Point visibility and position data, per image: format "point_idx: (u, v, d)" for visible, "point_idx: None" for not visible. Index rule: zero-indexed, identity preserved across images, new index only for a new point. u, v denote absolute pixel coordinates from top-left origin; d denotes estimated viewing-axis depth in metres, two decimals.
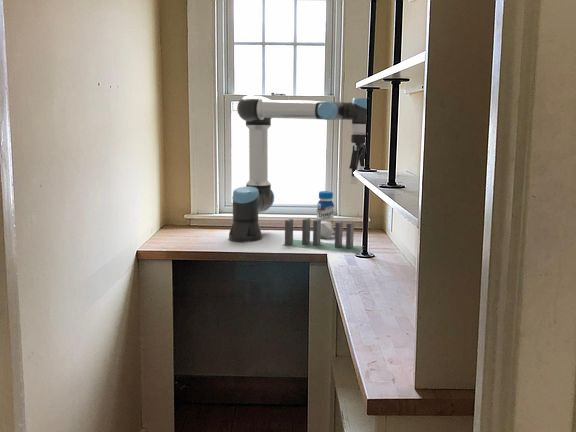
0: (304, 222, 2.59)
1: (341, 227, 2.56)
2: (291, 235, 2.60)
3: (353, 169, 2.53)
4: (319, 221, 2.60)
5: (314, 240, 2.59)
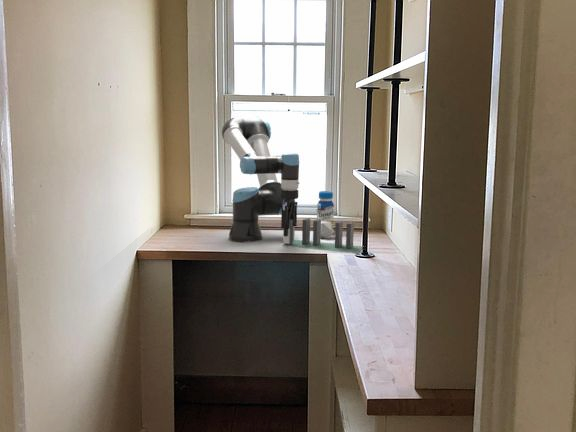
0: (304, 222, 2.59)
1: (341, 227, 2.56)
2: (291, 235, 2.60)
3: (285, 229, 2.55)
4: (319, 221, 2.60)
5: (314, 240, 2.59)
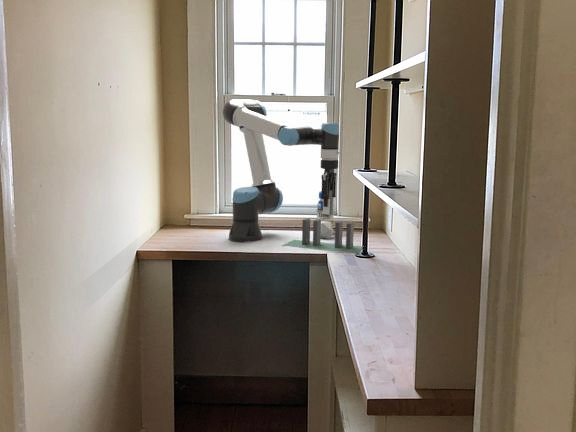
0: (304, 222, 2.59)
1: (341, 227, 2.56)
2: (330, 206, 2.57)
3: (325, 199, 2.52)
4: (319, 221, 2.60)
5: (314, 240, 2.59)
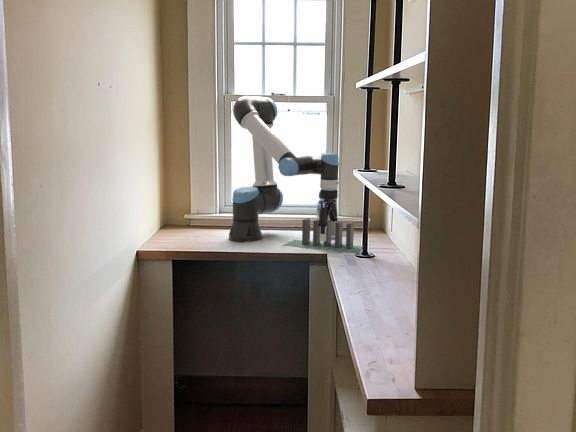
0: (304, 222, 2.59)
1: (341, 227, 2.56)
2: (330, 236, 2.59)
3: (322, 227, 2.51)
4: None
5: (314, 240, 2.59)
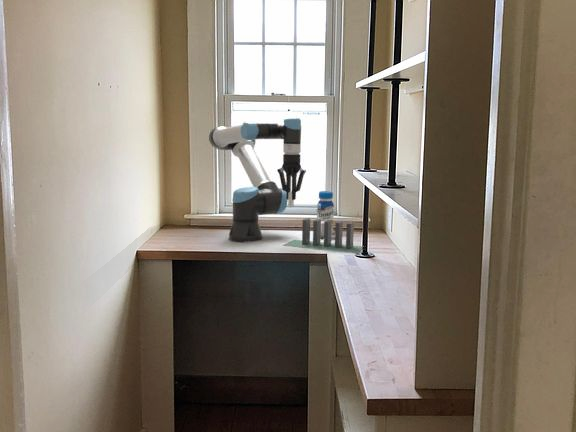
0: (304, 222, 2.59)
1: (341, 227, 2.56)
2: (330, 236, 2.59)
3: None
4: (319, 221, 2.60)
5: (314, 240, 2.59)
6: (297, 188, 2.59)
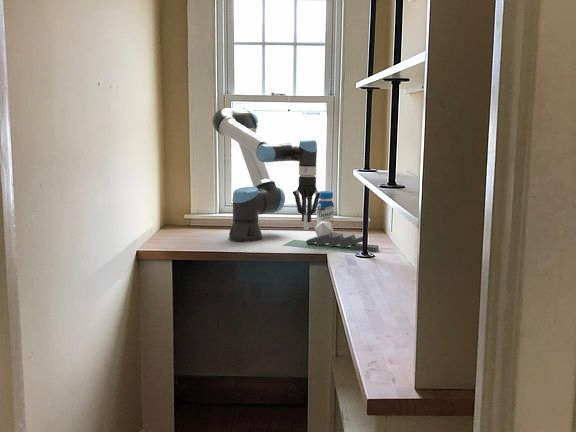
0: (326, 236, 2.56)
1: None
2: None
3: None
4: (341, 238, 2.57)
5: (321, 242, 2.58)
6: (313, 210, 2.58)
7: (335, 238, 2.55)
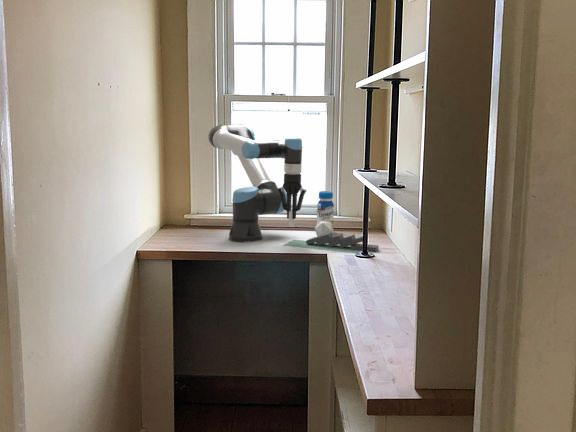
0: (326, 236, 2.56)
1: None
2: None
3: None
4: (341, 238, 2.57)
5: (321, 242, 2.58)
6: (297, 207, 2.61)
7: (335, 238, 2.55)
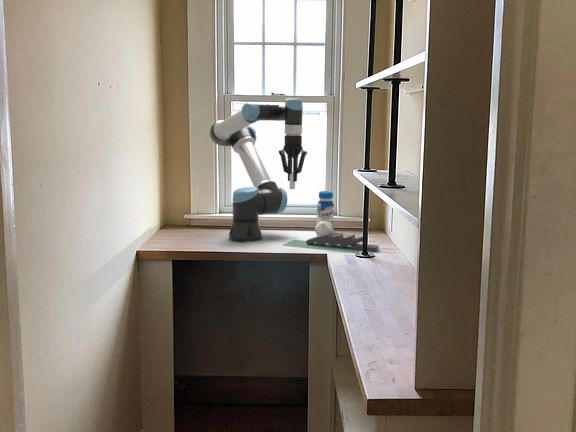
0: (326, 236, 2.56)
1: None
2: None
3: None
4: (341, 238, 2.57)
5: (321, 242, 2.58)
6: (298, 169, 2.58)
7: (335, 238, 2.55)
